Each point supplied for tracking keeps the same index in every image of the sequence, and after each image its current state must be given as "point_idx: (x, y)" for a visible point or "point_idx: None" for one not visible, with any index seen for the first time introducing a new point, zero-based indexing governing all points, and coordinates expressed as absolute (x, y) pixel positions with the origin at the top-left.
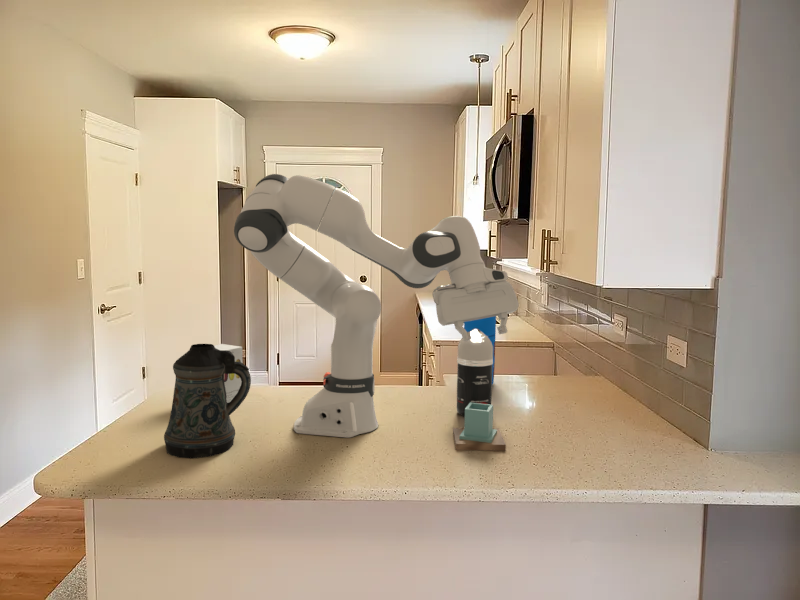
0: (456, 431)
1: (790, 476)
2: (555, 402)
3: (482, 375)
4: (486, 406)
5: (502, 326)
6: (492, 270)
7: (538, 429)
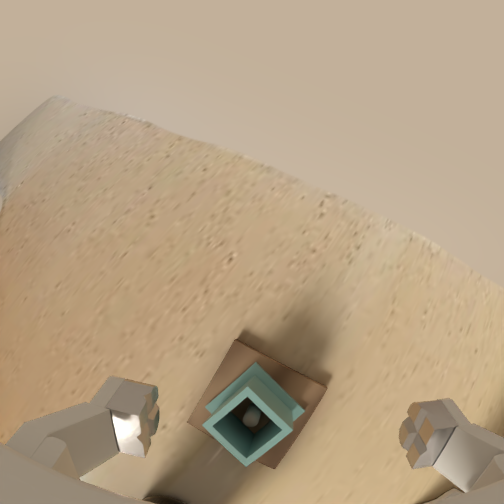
0: (282, 448)
1: (23, 121)
2: None
3: None
4: (219, 431)
5: (125, 404)
6: None
7: None
